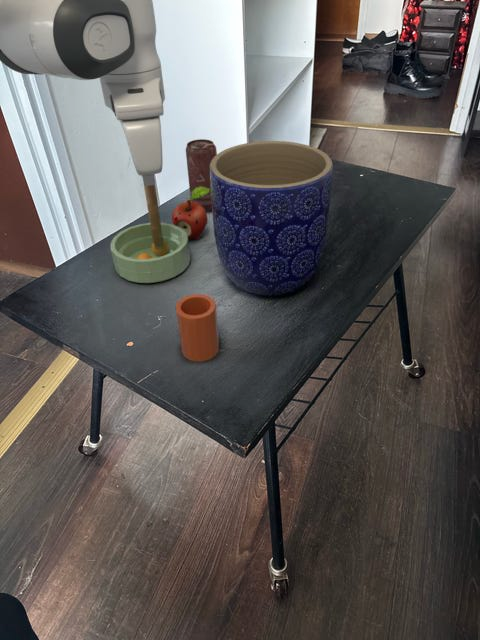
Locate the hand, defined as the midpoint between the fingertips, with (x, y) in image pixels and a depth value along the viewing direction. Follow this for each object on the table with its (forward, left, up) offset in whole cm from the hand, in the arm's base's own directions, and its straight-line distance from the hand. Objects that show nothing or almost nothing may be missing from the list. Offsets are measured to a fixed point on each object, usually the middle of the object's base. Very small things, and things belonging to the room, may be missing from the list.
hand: (148, 180), depth 78 cm
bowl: (-2, 0, -16) cm, 16 cm away
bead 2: (0, +2, -14) cm, 14 cm away
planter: (+18, -10, -16) cm, 26 cm away
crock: (+2, -25, -16) cm, 30 cm away
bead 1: (-3, -2, -14) cm, 14 cm away
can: (+12, +20, -16) cm, 29 cm away
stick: (0, 0, -14) cm, 14 cm away
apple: (+7, +8, -16) cm, 19 cm away
